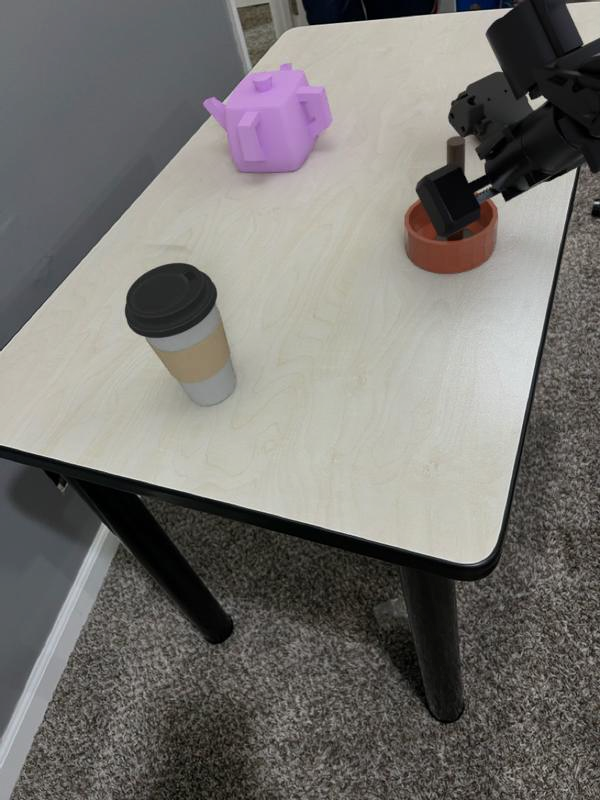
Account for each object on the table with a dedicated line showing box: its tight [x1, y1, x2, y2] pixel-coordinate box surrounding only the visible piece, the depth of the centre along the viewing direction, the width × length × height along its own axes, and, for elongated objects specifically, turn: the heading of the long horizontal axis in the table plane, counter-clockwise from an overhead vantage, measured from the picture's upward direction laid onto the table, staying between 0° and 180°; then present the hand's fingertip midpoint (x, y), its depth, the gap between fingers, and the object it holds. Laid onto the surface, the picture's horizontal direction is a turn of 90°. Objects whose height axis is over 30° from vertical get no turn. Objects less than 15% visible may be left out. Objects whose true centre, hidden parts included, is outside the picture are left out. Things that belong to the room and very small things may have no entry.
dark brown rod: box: [435, 135, 475, 242], centre depth 71 cm, size 5×5×14 cm
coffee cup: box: [124, 262, 237, 407], centre depth 64 cm, size 9×9×15 cm
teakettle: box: [202, 62, 334, 173], centre depth 96 cm, size 17×17×12 cm
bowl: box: [403, 191, 499, 275], centre depth 75 cm, size 11×11×4 cm
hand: (466, 198), depth 69 cm, fingers open, 9 cm apart
